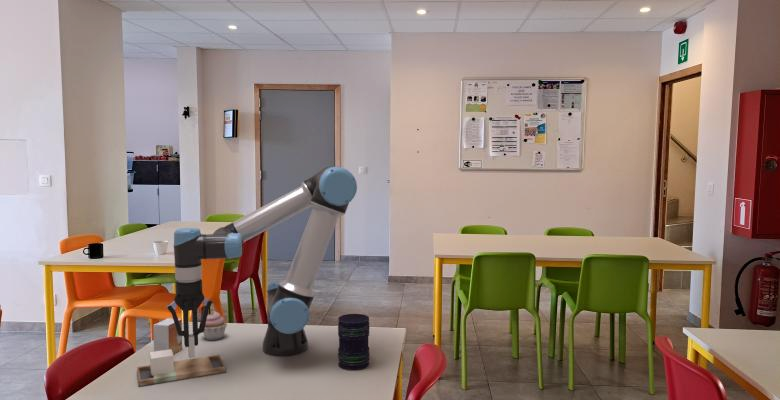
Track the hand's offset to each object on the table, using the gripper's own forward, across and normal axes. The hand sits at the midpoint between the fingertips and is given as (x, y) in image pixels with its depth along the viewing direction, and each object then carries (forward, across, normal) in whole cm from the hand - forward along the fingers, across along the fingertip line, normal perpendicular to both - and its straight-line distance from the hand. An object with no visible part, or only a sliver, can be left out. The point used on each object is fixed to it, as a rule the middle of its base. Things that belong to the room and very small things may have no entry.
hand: (191, 356), depth 166 cm
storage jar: (+6, -46, +17) cm, 49 cm away
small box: (+5, +5, -20) cm, 21 cm away
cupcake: (+5, -11, -29) cm, 32 cm away
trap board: (+4, +3, 0) cm, 5 cm away
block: (+3, +8, 0) cm, 9 cm away
